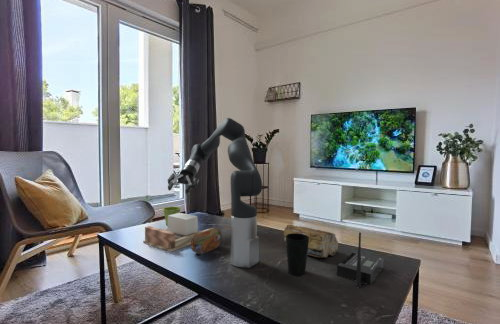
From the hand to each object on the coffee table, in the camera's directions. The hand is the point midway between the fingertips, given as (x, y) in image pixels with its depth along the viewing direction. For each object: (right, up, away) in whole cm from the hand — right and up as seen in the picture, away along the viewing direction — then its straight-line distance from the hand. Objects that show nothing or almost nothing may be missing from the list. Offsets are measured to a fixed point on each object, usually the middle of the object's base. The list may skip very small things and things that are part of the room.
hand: (177, 190), depth 131 cm
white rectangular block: (+3, -18, -4) cm, 19 cm away
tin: (+16, -22, -18) cm, 33 cm away
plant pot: (-8, -20, +19) cm, 29 cm away
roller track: (+1, -21, -7) cm, 22 cm away
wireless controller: (+70, -24, -38) cm, 83 cm away
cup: (+49, -24, -37) cm, 66 cm away
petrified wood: (+58, -23, -18) cm, 65 cm away
